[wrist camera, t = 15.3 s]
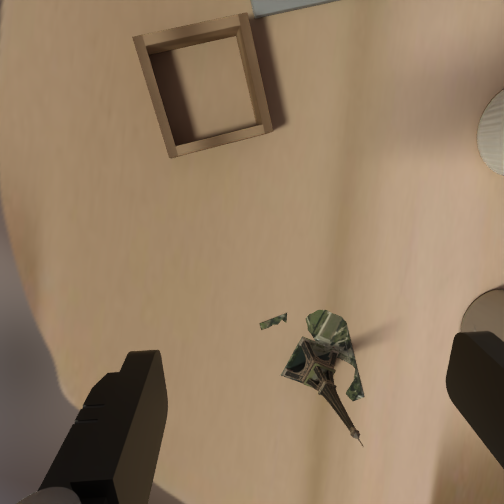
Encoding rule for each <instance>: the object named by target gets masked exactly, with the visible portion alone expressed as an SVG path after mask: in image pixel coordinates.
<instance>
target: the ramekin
mask: <svg viewBox="0 0 504 504" xmlns="http://www.w3.org/2000/svg"><path fill="white" fill-rule="evenodd" d="M477 145H478V150H479V153H480V155H481V157H482V159H483V161H484V162H485V164H486V165H487V166H488V167H489V168H490V169H491V170H492V171H494V172H496V173H497V174H500V175H503V176H504V90H502V91H501V92H500V93H499V94H497V95H496V96H495V97H494V98H493V99H492V101H491V102H490V103H489V105H488V106H487V107H486V109H485V111H484V113H483V114H482V117H481V119H480V122H479V126H478V131H477Z"/></svg>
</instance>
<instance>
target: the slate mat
mask: <svg viewBox="0 0 504 504" xmlns="http://www.w3.org/2000/svg"><path fill="white" fill-rule="evenodd" d="M334 1H339V0H251V4H252V9H253V13H254V18H255V19H256V18H260V17H265V16H269V15H274V14H279V13H283V12H288V11H293V10H297V9H302V8H306V7H311V6H316V5H320V4H325V3H329V2H334Z"/></svg>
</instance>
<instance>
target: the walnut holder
mask: <svg viewBox="0 0 504 504" xmlns="http://www.w3.org/2000/svg"><path fill="white" fill-rule="evenodd" d="M232 36H236V37H237V42H238V46H239V50H240V55H241V59H242V63H243V67H244V72H245V76H246V80H247V85H248V89H249V93H250V98H251V102H252V106H253V111H254V115H255V119H256V124H257V126H254V127H250V128H246V129H242V130H238V131H234V132H230V133H226V134H222V135H218V136H214V137H211V138H207V139H203V140H199V141H195V142H191V143H187V144H183V145H179V146H176V145H175V142H174V139H173V135H172V132H171V129H170V125H169V122H168V119H167V115H166V112H165V109H164V105H163V102H162V99H161V95H160V92H159V89H158V85H157V82H156V78H155V75H154V72H153V68H152V65H151V62H150V58H149V55H151V54H156V53H160V52H165V51H169V50H174V49H178V48H183V47H187V46H192V45H196V44H201V43H205V42H210V41H214V40H219V39H223V38H228V37H232ZM132 38H133V41H134V44H135V47H136V51H137V54H138V57H139V60H140V64H141V67H142V70H143V74H144V77H145V80H146V83H147V87H148V90H149V93H150V96H151V100H152V103H153V106H154V109H155V113H156V116H157V119H158V123H159V126H160V129H161V132H162V136H163V139H164V142H165V145H166V149H167V152H168V155H169V158H174V157H178V156H182V155H186V154H189V153H193V152H197V151H201V150H205V149H209V148H213V147H217V146H221V145H224V144H228V143H232V142H236V141H240V140H244V139H248V138H252V137H256V136H260V135H263V134H267V133H270V132H273V128H272V123H271V119H270V114H269V110H268V105H267V101H266V96H265V91H264V87H263V82H262V78H261V73H260V69H259V64H258V59H257V55H256V50H255V46H254V41H253V37H252V32H251V27H250V23H249V18H248V14H247V13H242V14H237V15H233V16H228V17H223V18H219V19H214V20H209V21H205V22H200V23H195V24H191V25H186V26H181V27H177V28H172V29H167V30H163V31H158V32H153V33H149V34H144V35H139V36H135V37H132Z"/></svg>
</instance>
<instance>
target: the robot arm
mask: <svg viewBox="0 0 504 504" xmlns="http://www.w3.org/2000/svg"><path fill="white" fill-rule="evenodd" d="M446 388H447V392H448V394H449V397H450V399H451V401H452V402H453V404H454V405H455V406H456V408H457V409H458V410H459V411H460V413H461V414H462V415H463V417H464V418H465V419H466V421H467V422H468V423H469V424H470V426H471V427H472V428H473V430H474V431H475V432H476V434H477V435H478V436H479V437H480V439H481V440H482V441H483V443H484V444H485V445H486V447H487V448H488V449H489V450H490V452H491V453H492V454H493V456H494V457H495V458H496V460H497V461H498V462H499V463H500V465H501V466H502V467H503V469H504V290H502V289H500V290H493V291H490V292H487V293H485V294H484V295H482V296H480V297H479V298H478V299H477V300H475V301H474V302H473V303H472V305H471V306H470V307H469V308H468V310H467V311H466V313H465V315H464V318H463V320H462V324H461V332H460V333H457V334H456V335H455V337H454V340H453V345H452V350H451V355H450V360H449V365H448V370H447V375H446ZM167 411H168V398H167V390H166V384H165V377H164V371H163V365H162V358H161V354H160V351H159V350H147V351H131V352H129V353H128V354H127V356H126V359H125V361H124V363H123V365H122V368H121V370H120V372H114V373H107V374H106V375H105V376H104V377H103V378H102V379H101V380H100V381H99V382H98V383H97V384H96V385H95V386H94V387H93V388H92V389H91V391H90V393H89V395H88V397H87V398H86V400H85V402H84V404H83V409H81V410H80V412H79V414H78V416H77V418H76V419H75V424H73V425H72V427H71V429H70V431H69V433H68V435H67V437H66V438H65V440H64V442H63V444H62V446H61V448H60V450H59V452H58V454H57V456H56V457H55V459H54V461H53V463H52V465H51V467H50V469H49V471H48V473H47V474H46V477H45V478H44V480H43V482H42V484H41V486H40V488H39V489H38V491H37V492H34V493H32V494H31V495H29V496H27V497H25V498H24V499H22V500H21V501H19V502H18V503H17V504H148V499H149V495H150V491H151V487H152V482H153V478H154V473H155V469H156V464H157V460H158V455H159V451H160V447H161V442H162V438H163V433H164V429H165V424H166V419H167Z"/></svg>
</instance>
